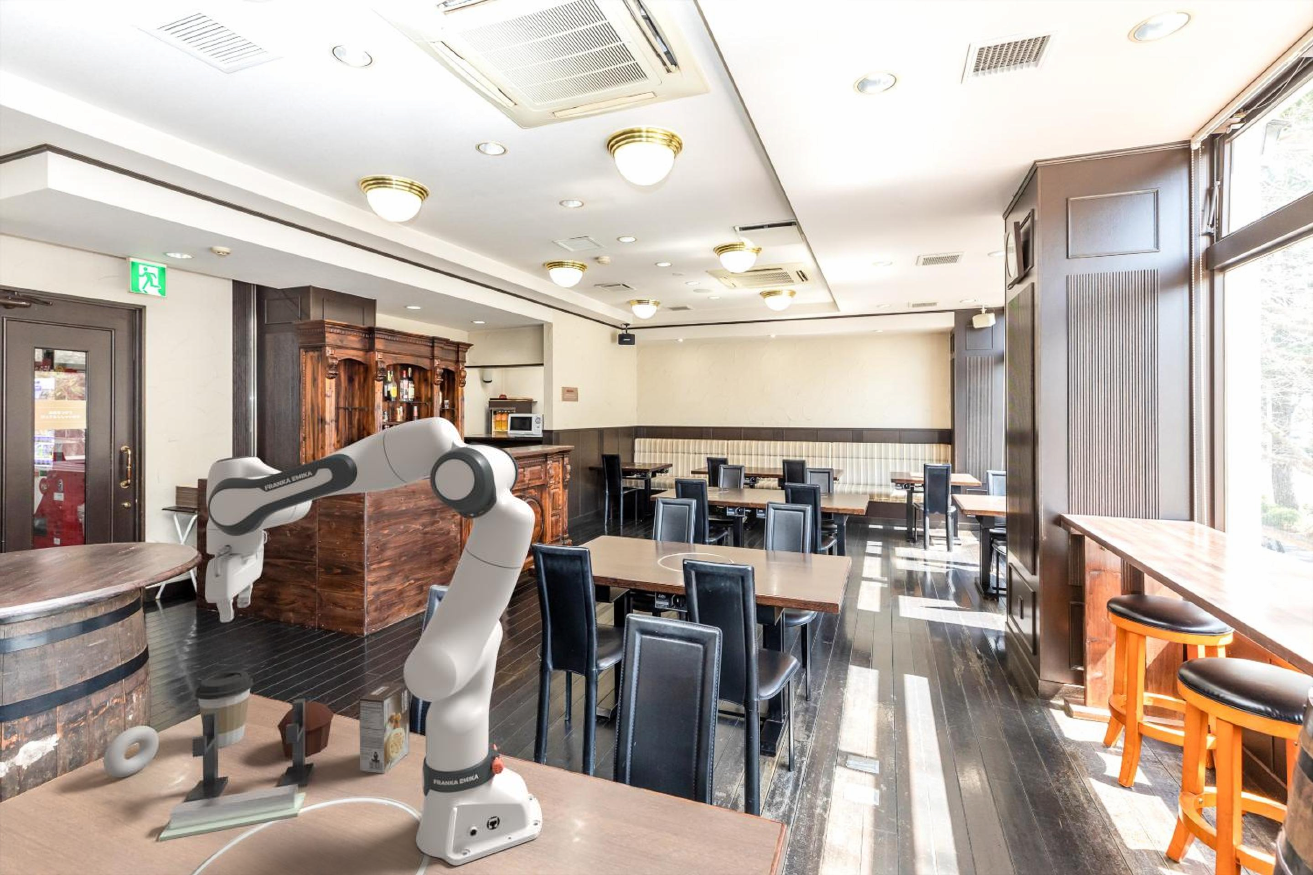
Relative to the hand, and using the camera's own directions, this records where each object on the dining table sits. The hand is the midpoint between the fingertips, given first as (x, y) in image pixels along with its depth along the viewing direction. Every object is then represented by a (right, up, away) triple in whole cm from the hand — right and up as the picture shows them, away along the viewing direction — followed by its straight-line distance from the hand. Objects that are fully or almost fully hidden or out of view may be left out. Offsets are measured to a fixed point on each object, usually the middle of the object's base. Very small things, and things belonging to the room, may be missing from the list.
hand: (235, 613), depth 115 cm
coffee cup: (-22, -39, +29) cm, 53 cm away
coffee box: (+20, -39, +20) cm, 48 cm away
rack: (-3, -39, +9) cm, 40 cm away
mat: (0, -39, 0) cm, 39 cm away
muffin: (-1, -39, +25) cm, 47 cm away
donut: (-32, -39, +15) cm, 53 cm away
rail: (0, -39, 0) cm, 38 cm away
